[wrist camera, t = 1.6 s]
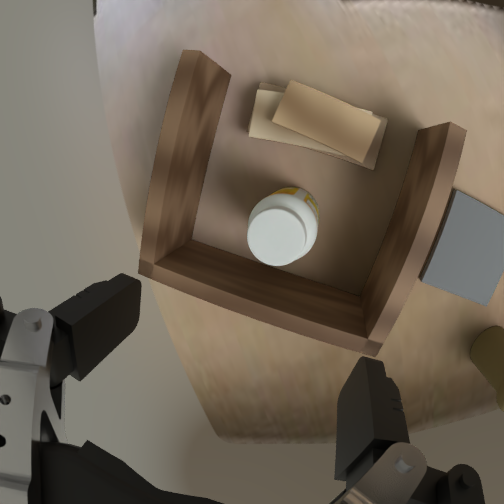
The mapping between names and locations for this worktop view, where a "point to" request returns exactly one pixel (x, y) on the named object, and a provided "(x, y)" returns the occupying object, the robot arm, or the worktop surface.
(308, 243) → the supplement bottle
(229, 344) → the worktop surface
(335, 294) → the walnut open frame
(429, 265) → the slate mat
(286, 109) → the offcut stack
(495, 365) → the cork
